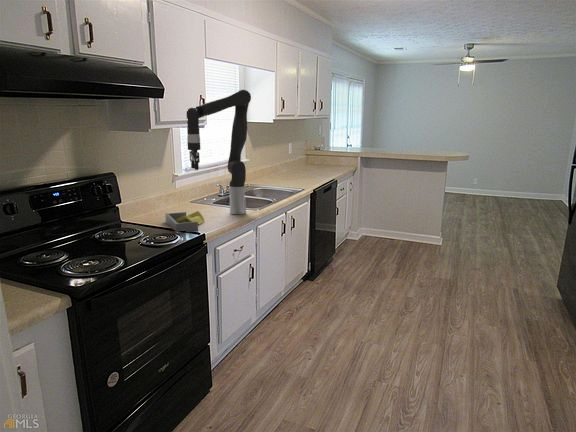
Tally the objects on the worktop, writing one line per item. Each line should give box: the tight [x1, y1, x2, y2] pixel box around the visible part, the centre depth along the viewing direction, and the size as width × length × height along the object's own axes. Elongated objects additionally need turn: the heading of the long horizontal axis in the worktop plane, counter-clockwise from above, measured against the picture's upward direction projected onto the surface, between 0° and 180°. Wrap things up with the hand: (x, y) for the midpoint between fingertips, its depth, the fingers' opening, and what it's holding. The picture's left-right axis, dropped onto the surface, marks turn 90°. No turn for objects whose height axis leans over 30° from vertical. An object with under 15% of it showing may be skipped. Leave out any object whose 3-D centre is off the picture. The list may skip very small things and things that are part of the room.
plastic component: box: [175, 211, 206, 225], centre depth 229 cm, size 20×7×10 cm
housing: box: [164, 211, 199, 233], centre depth 225 cm, size 12×28×5 cm, turn 27°
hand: (194, 168), depth 251 cm, fingers open, 8 cm apart
